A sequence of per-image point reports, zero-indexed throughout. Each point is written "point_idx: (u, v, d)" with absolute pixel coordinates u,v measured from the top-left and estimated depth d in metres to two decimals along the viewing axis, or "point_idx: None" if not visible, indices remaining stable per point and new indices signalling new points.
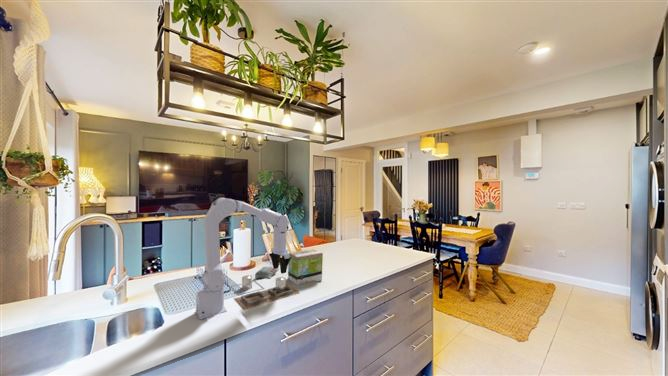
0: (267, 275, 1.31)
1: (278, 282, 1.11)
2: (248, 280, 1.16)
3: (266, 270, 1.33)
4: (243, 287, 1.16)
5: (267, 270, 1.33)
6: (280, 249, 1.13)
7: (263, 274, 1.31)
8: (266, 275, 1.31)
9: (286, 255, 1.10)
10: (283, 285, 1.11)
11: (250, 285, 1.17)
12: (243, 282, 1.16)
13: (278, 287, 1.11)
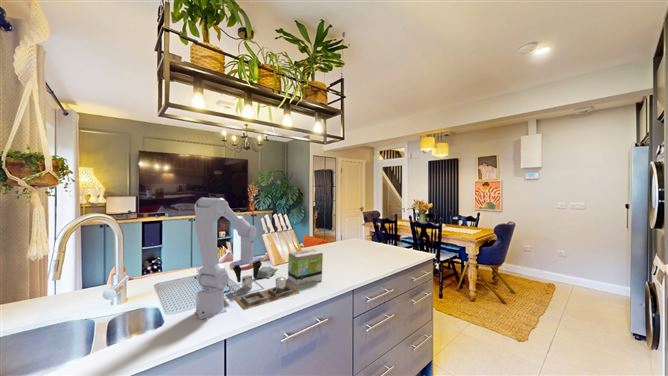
0: (266, 275, 1.31)
1: (278, 282, 1.11)
2: (248, 280, 1.16)
3: (265, 270, 1.33)
4: (243, 287, 1.16)
5: (266, 270, 1.33)
6: None
7: (262, 274, 1.31)
8: (265, 275, 1.31)
9: None
10: (283, 285, 1.11)
11: (250, 285, 1.17)
12: (243, 282, 1.16)
13: (278, 287, 1.11)
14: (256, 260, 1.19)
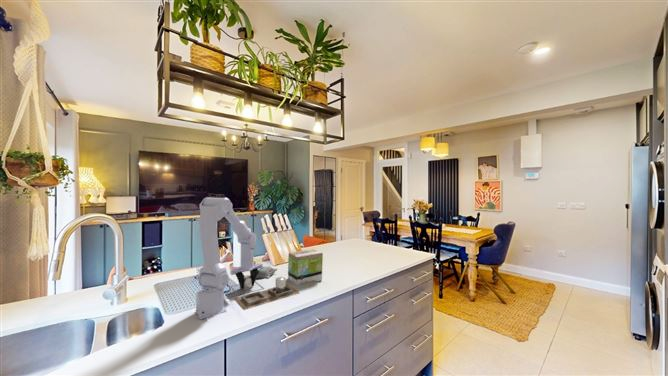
0: (266, 275, 1.31)
1: (278, 282, 1.11)
2: (248, 280, 1.16)
3: (265, 270, 1.33)
4: (243, 287, 1.16)
5: (266, 270, 1.33)
6: None
7: (262, 274, 1.31)
8: (265, 275, 1.31)
9: (230, 271, 1.13)
10: (283, 285, 1.11)
11: (250, 285, 1.17)
12: (243, 282, 1.16)
13: (278, 287, 1.11)
14: (256, 267, 1.19)
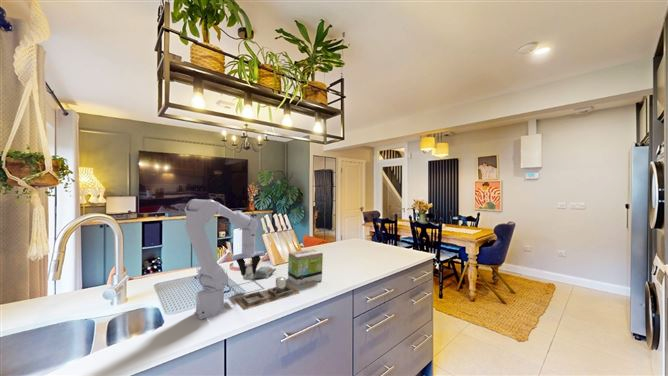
0: (265, 275, 1.31)
1: (278, 282, 1.11)
2: (249, 268, 1.13)
3: (264, 270, 1.33)
4: (244, 275, 1.13)
5: (265, 270, 1.33)
6: None
7: (261, 274, 1.31)
8: (264, 275, 1.31)
9: (231, 257, 1.11)
10: (283, 285, 1.11)
11: (251, 273, 1.14)
12: (244, 270, 1.13)
13: (278, 287, 1.11)
14: (258, 254, 1.16)
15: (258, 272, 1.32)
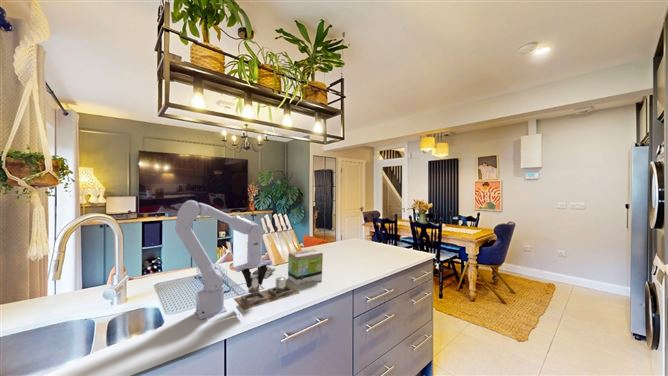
0: (264, 275, 1.31)
1: (278, 282, 1.11)
2: (254, 280, 1.04)
3: None
4: (249, 288, 1.04)
5: None
6: (247, 260, 1.04)
7: None
8: None
9: (236, 267, 1.01)
10: (283, 285, 1.11)
11: (257, 286, 1.05)
12: None
13: (278, 287, 1.11)
14: (264, 264, 1.06)
15: (257, 272, 1.32)
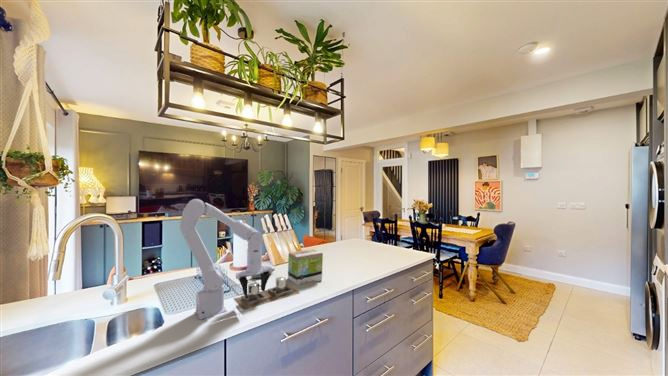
0: None
1: (278, 282, 1.11)
2: (254, 288, 1.04)
3: None
4: (249, 296, 1.04)
5: None
6: (247, 267, 1.04)
7: (259, 274, 1.31)
8: None
9: (236, 275, 1.01)
10: (283, 285, 1.11)
11: (257, 294, 1.05)
12: (249, 290, 1.04)
13: (278, 287, 1.11)
14: (264, 270, 1.06)
15: None
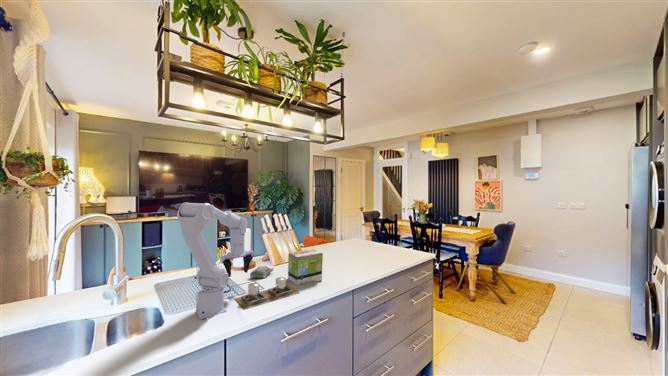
0: (262, 275, 1.31)
1: (278, 282, 1.11)
2: (254, 288, 1.04)
3: (261, 270, 1.33)
4: (249, 296, 1.04)
5: (262, 270, 1.34)
6: None
7: (258, 274, 1.32)
8: (261, 275, 1.31)
9: (220, 257, 1.08)
10: (283, 285, 1.11)
11: (257, 294, 1.05)
12: (249, 290, 1.04)
13: (278, 287, 1.11)
14: (247, 253, 1.14)
15: (255, 272, 1.32)
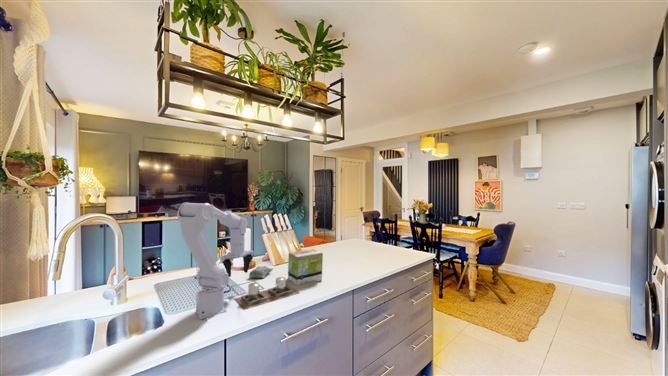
0: (261, 275, 1.31)
1: (278, 282, 1.11)
2: (255, 288, 1.04)
3: (260, 270, 1.34)
4: (249, 296, 1.04)
5: (261, 270, 1.34)
6: None
7: (257, 274, 1.32)
8: (260, 275, 1.31)
9: (220, 257, 1.08)
10: (283, 285, 1.11)
11: (257, 294, 1.05)
12: (249, 290, 1.04)
13: (278, 287, 1.11)
14: (247, 253, 1.14)
15: (255, 272, 1.32)
